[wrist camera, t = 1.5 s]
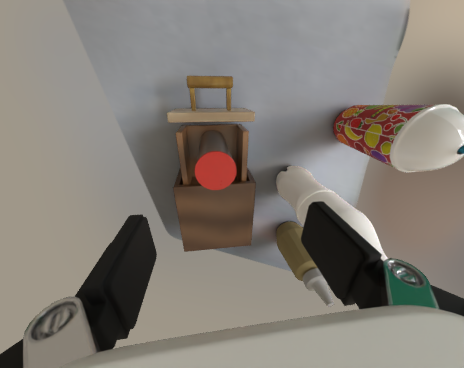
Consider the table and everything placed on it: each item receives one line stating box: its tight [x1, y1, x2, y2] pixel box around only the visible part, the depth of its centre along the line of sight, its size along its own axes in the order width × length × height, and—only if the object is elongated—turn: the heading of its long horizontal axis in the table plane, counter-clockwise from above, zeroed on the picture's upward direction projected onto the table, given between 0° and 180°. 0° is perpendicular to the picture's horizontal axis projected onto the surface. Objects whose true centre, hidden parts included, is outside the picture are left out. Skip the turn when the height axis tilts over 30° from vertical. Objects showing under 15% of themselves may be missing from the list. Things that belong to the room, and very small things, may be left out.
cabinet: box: [173, 167, 256, 251], centre depth 33 cm, size 14×13×9 cm
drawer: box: [167, 76, 255, 185], centre depth 27 cm, size 17×11×7 cm
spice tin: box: [195, 130, 237, 190], centre depth 24 cm, size 5×5×12 cm
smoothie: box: [333, 104, 464, 172], centre depth 25 cm, size 8×8×20 cm
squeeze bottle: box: [276, 222, 334, 307], centre depth 37 cm, size 8×8×18 cm
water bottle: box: [276, 166, 388, 261], centre depth 26 cm, size 7×7×25 cm
